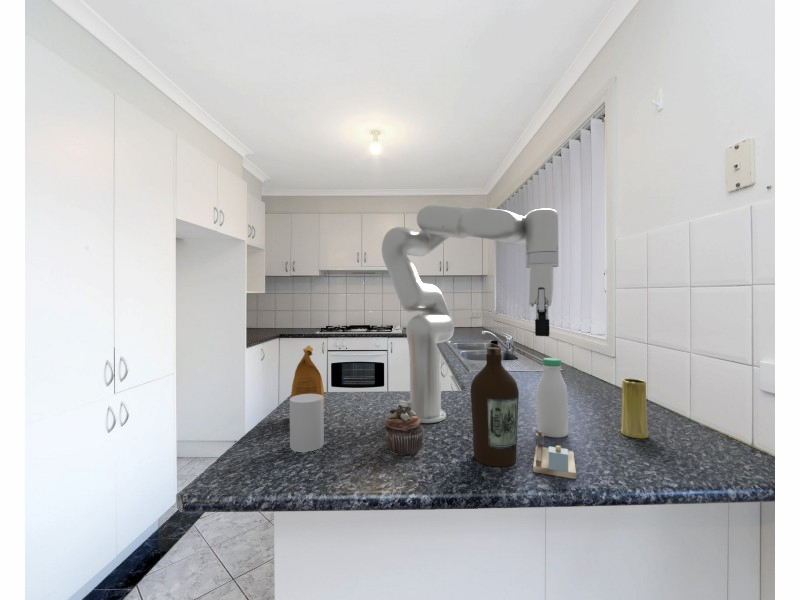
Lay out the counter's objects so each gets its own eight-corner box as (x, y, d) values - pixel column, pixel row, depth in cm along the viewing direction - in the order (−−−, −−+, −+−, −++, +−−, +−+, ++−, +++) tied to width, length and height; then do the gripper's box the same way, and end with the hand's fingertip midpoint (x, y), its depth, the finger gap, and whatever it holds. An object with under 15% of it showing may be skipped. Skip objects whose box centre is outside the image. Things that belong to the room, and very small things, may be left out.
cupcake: (417, 459, 82) (417, 415, 82) (378, 453, 85) (378, 411, 85) (429, 443, 91) (429, 403, 91) (393, 438, 94) (393, 400, 94)
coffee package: (325, 412, 116) (325, 344, 116) (323, 426, 104) (323, 349, 104) (293, 414, 114) (293, 345, 114) (288, 428, 102) (287, 350, 102)
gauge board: (533, 471, 75) (533, 447, 75) (535, 451, 86) (535, 430, 86) (575, 478, 72) (575, 454, 72) (573, 456, 82) (573, 434, 82)
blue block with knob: (548, 469, 73) (548, 447, 73) (549, 462, 76) (548, 442, 76) (568, 472, 72) (568, 450, 72) (567, 465, 75) (567, 445, 75)
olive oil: (463, 450, 86) (462, 346, 86) (504, 446, 89) (503, 344, 89) (483, 471, 76) (482, 352, 76) (528, 465, 78) (528, 350, 78)
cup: (329, 442, 92) (329, 395, 92) (312, 455, 85) (311, 403, 84) (302, 438, 95) (302, 392, 95) (283, 450, 87) (282, 400, 87)
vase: (645, 432, 97) (645, 379, 97) (650, 440, 92) (650, 384, 91) (619, 429, 100) (619, 377, 100) (622, 436, 94) (622, 382, 94)
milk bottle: (571, 439, 92) (570, 361, 92) (539, 437, 94) (539, 360, 94) (564, 428, 100) (563, 356, 100) (534, 427, 102) (534, 356, 102)
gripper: (527, 264, 97) (528, 332, 97) (523, 258, 83) (523, 338, 83) (558, 263, 94) (558, 333, 94) (558, 257, 80) (559, 339, 80)
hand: (542, 335), depth 89 cm, fingers closed
